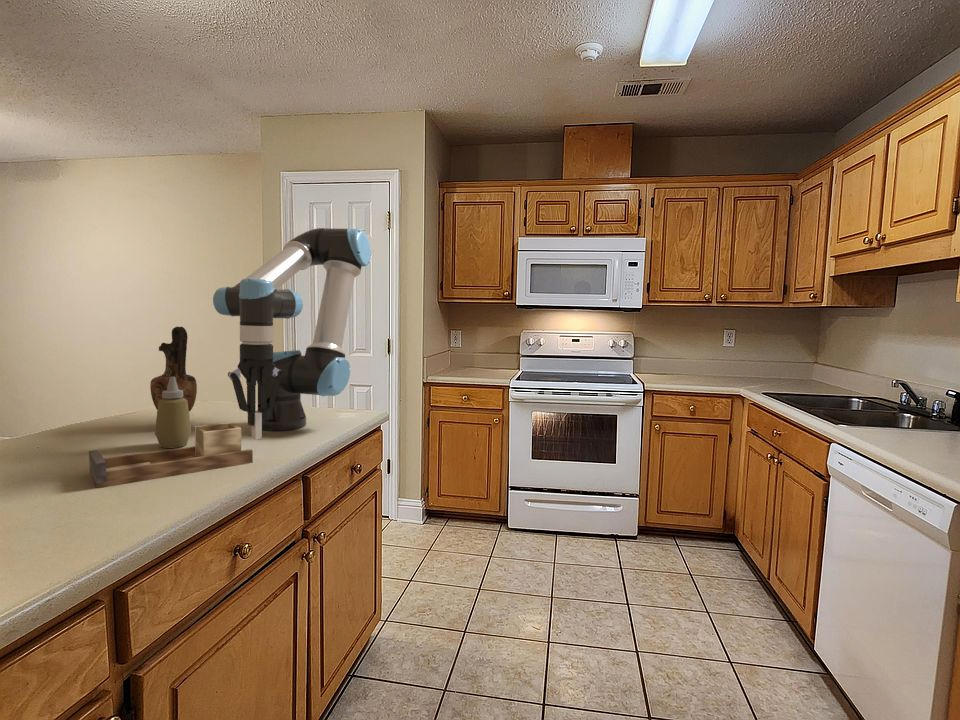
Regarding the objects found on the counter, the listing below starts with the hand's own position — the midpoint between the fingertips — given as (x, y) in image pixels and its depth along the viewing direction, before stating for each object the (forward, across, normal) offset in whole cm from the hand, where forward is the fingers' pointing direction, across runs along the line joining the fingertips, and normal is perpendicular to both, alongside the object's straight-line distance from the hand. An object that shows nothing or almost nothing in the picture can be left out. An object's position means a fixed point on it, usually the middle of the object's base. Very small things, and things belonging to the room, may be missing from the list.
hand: (256, 437), depth 129 cm
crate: (+3, +9, 0) cm, 9 cm away
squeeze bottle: (+5, +14, -20) cm, 25 cm away
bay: (+4, +18, 0) cm, 18 cm away
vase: (+5, +9, -41) cm, 42 cm away
